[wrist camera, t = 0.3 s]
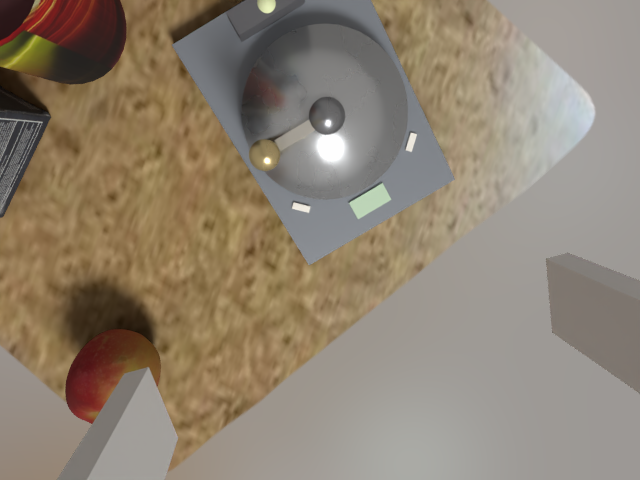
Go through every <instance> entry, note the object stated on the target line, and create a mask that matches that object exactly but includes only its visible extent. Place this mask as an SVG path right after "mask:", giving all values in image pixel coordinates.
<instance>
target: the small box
mask: <svg viewBox="0 0 640 480" xmlns="http://www.w3.org/2000/svg"><path fill="white" fill-rule="evenodd" d="M50 118H51V117H50V115H49V113H48V112H45V111H44V110H42V109H40V108H37V107H35V106H34V105H33V104H30V103H28V102H27V101H25V100H23V99H22V98H19V97H18V96H16V95H14V94H13V93H12V92H9V91H7V90H6V89H4V88H3V87H2V86H1V85H0V218H1V217H3V216H4V214H5V212H6V210H7V208H8V206H9V204H10V202H11V199H12V197H13V195H14V193H15V191H16V189H17V187H18V185H19V183H20V181H21V179H22V177H23V175H24V172H25V170H26V168H27V166H28V164H29V162H30V160H31V158H32V156H33V154H34V152H35V150H36V148H37V145H38V143H39V141H40V139H41V137H42V135H43V133H44V131H45V128H46V126H47V124H48V122H49V120H50Z"/></svg>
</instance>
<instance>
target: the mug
mask: <svg viewBox="0 0 640 480" xmlns="http://www.w3.org/2000/svg"><path fill="white" fill-rule="evenodd" d="M125 41H126V20H125V14H124V10H123V8H122V5H121V2H120V0H0V67H4V68H8V69H11V70H15V71H19V72H22V73H26V74H30V75H33V76H37V77H41V78H44V79H48V80H52V81H55V82H59V83H66V84H83V83H87V82H91V81H94V80H96V79H98V78H100V77H102V76H104V75H105V74H106V73H107V72H109V71H110V70H111V69H112V68H113V67H114V65H115V64H116V63H117V62H118V60H119V58H120V56H121V54H122V52H123V50H124V45H125Z"/></svg>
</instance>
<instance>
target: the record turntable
mask: <svg viewBox="0 0 640 480" xmlns="http://www.w3.org/2000/svg"><path fill="white" fill-rule="evenodd" d="M313 24H336V25H341V26H345V27H349V28H352V29H354V30H357V31H359V32H361V33H363V34H365V35H366V36H368V37H370V38H371V39H372V40H374V41H375V42H376V43H377V44H379V45H380V46H381V47H382V48H383V49H384V51H385V52H386V53H387V54H388V55H389V56H390V58H391V59H392V61H393V62H394V64H395V65H396V67H397V69H398V71H399V73H400V75H401V78H402V80H403V83H404V86H405V90H406V94H407V102H408V122H407V129H406V133H405V138H404V141H403V143H402V146H401V149H400V151H399V153H398V155H397V157H396V159H395V160H394V162H393V163H392V164H391V166H390V167H389V169H388V170H387V171H386V172H385V173H384V174H383V175H382V176H381V177H380V178H379V179H378V180H377V181H376V182H374V183H373V184H372V185H370V186H369V187H367V188H366V189H364V190H362V191H360V192H358V193H355V194H353V195H350V196H347V197H343V198H338V199H328V200H324V199H313V198H307V197H304V196H300V195H297V194H295V193H293V192H291V191H288V190H286V189H285V188H283V187H282V186H280V185H279V184H277V183H276V182H275V181H273V180H272V179H271V178H270V177H269V176H268V175H267V174H266V173H265V172H264V171H261V170H258V169H257V168H255V167H254V166H253V165H252V164H251V162H250V159H249V150H250V149H249V146H248V144H247V141H246V138H245V134H244V130H243V124H242V99H243V92H244V88H245V85H246V81H247V79H248V76H249V74H250V72H251V69H252V68H253V66H254V64H255V63H256V61H257V59H258V58H259V57H260V56H261V54H262V53H263V52H264V51H265V50H266V49H267V48H268V47H269V46H270V45H271V44H272V43H273V42H274V41H276V40H277V39H278V38H280V37H281V36H283V35H284V34H286V33H288V32H290V31H292V30H295V29H298V28H300V27H303V26H308V25H313ZM172 46H173V48H174V49H175V51H176V52H177V54H178V56H179V57H180V59H181V60H182V62H183V64H184V65H185V67H186V68H187V70H188V72H189V73H190V75H191V77H192V78H193V80H194V81H195V83H196V85H197V86H198V88H199V89H200V91H201V93H202V94H203V96H204V97H205V99H206V101H207V102H208V104H209V105H210V107H211V109H212V110H213V112H214V113H215V115H216V117H217V118H218V120H219V121H220V123H221V125H222V126H223V128H224V129H225V131H226V133H227V134H228V136H229V137H230V139H231V141H232V142H233V144H234V145H235V147H236V149H237V150H238V152H239V154H240V155H241V157H242V158H243V160H244V162H245V163H246V165H247V166H248V168H249V170H250V171H251V173H252V174H253V176H254V178H255V179H256V181H257V182H258V184H259V186H260V187H261V189H262V190H263V192H264V194H265V195H266V197H267V198H268V200H269V202H270V203H271V205H272V206H273V208H274V210H275V211H276V213H277V214H278V216H279V218H280V219H281V221H282V222H283V224H284V226H285V227H286V229H287V231H288V232H289V234H290V235H291V237H292V239H293V240H294V242H295V243H296V245H297V247H298V248H299V250H300V251H301V253H302V255H303V256H304V258H305V259H306V261H307V263H308V264H309V265H310V264H312V263H314V262H315V261H317V260H319V259H321V258H322V257H324V256H326V255H327V254H329V253H331V252H332V251H334V250H336V249H337V248H339V247H341V246H343V245H344V244H346V243H348V242H349V241H351V240H353V239H354V238H356V237H358V236H360V235H361V234H363V233H365V232H366V231H368V230H370V229H371V228H373V227H375V226H377V225H378V224H380V223H382V222H383V221H385V220H387V219H388V218H390V217H392V216H394V215H395V214H397V213H399V212H400V211H402V210H404V209H405V208H407V207H409V206H411V205H412V204H414V203H416V202H417V201H419V200H421V199H422V198H424V197H426V196H427V195H429V194H431V193H433V192H434V191H436V190H438V189H439V188H441V187H443V186H444V185H446V184H448V183H450V182H451V181H453V180H455V179H454V176H453V174H452V172H451V170H450V168H449V166H448V164H447V161H446V159H445V157H444V155H443V153H442V151H441V149H440V147H439V144H438V142H437V140H436V138H435V136H434V134H433V132H432V130H431V127H430V125H429V123H428V121H427V119H426V117H425V115H424V112H423V110H422V108H421V106H420V104H419V102H418V100H417V98H416V95H415V93H414V91H413V89H412V87H411V85H410V83H409V81H408V78H407V76H406V74H405V72H404V70H403V68H402V66H401V63H400V61H399V59H398V57H397V55H396V53H395V51H394V49H393V46H392V44H391V42H390V40H389V38H388V36H387V34H386V31H385V29H384V27H383V25H382V23H381V21H380V19H379V17H378V14H377V12H376V10H375V8H374V6H373V4H372V2H371V0H244V1H242V2H241V3H239V4H237V5H236V6H234V7H233V8H231V9H229V10H228V11H226V12H225V13H223V14H221V15H220V16H218V17H216V18H215V19H213V20H212V21H210V22H208V23H207V24H205V25H203V26H202V27H200V28H199V29H197V30H195V31H194V32H192V33H190V34H189V35H187V36H186V37H184V38H182V39H181V40H179V41H177V42H176V43H174V44H173V45H172Z"/></svg>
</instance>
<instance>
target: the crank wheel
mask: <svg viewBox="0 0 640 480" xmlns="http://www.w3.org/2000/svg"><path fill="white" fill-rule="evenodd" d="M407 122H408V102H407V94H406V90H405V86H404V83H403V80H402V78H401V75H400V73H399V71H398V69H397V67H396V65H395V64H394V62H393V61H392V59H391V58H390V56H389V55H388V54H387V53H386V52H385V51H384V49H383V48H382V47H381V46H380V45H379V44H377V43H376V42H375V41H374V40H372V39H371V38H370V37H368V36H366V35H365V34H363V33H361V32H359V31H357V30H354V29H352V28H349V27H345V26H341V25H336V24H313V25H308V26H303V27H300V28H298V29H295V30H292V31H290V32H288V33H286V34H284V35H283V36H281V37H280V38H278V39H277V40H276V41H274V42H273V43H272V44H271V45H270V46H269V47H268V48H267V49H266V50H265V51H264V52H263V53H262V54H261V56H260V57H259V58H258V59H257V61H256V63H255V64H254V66H253V68H252V69H251V72H250V74H249V76H248V79H247V81H246V85H245V88H244V92H243V99H242V124H243V130H244V134H245V138H246V141H247V144H248V146H249V149H250V150H249V159H250V162H251V164H252V165H253V166H254V167H255V168H257V169H258V170H261V171H264V172H265V173H266V174H267V175H268V176H269V177H270V178H271V179H272V180H273V181H275V182H276V183H277V184H279V185H280V186H282V187H283V188H285V189H286V190H288V191H291V192H293V193H295V194H297V195H300V196H304V197H307V198H313V199H324V200H328V199H338V198H343V197H347V196H350V195H353V194H355V193H358V192H360V191H362V190H364V189H366V188H367V187H369V186H370V185H372V184H373V183H374V182H376V181H377V180H378V179H379V178H380V177H381V176H382V175H383V174H384V173H385V172H386V171H387V170H388V169H389V167H390V166H391V164H392V163H393V162H394V160H395V159H396V157H397V155H398V153H399V151H400V149H401V146H402V143H403V141H404V138H405V133H406V129H407Z"/></svg>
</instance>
